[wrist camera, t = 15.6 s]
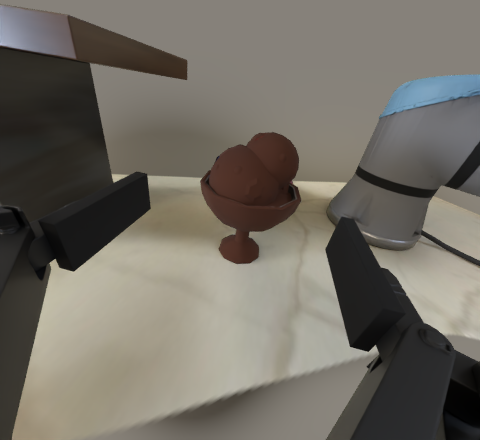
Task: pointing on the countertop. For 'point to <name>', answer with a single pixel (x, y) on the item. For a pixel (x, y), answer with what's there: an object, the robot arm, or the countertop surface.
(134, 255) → the countertop surface
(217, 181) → the ice cream bowl
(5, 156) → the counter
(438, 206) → the countertop surface
